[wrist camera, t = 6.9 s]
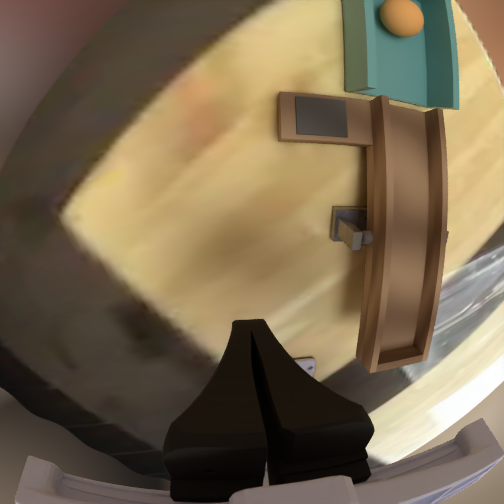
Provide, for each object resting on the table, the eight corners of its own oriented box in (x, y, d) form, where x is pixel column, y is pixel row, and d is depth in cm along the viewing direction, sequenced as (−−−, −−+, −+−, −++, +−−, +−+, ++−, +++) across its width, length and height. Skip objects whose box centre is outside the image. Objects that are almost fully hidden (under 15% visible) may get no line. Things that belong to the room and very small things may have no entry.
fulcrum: (420, 236, 23) (445, 254, 19) (330, 238, 22) (348, 259, 19) (425, 209, 22) (451, 223, 18) (333, 206, 21) (353, 223, 18)
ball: (438, 22, 12) (420, -3, 12) (399, 7, 12) (382, -16, 12) (418, 50, 15) (403, 24, 16) (381, 39, 15) (367, 13, 15)
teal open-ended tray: (430, 108, 18) (459, 109, 15) (344, 91, 18) (367, 86, 14) (423, 0, 14) (448, -11, 11) (339, -27, 13) (358, -46, 10)
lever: (415, 344, 21) (431, 358, 19) (278, 365, 20) (285, 385, 18) (427, 117, 18) (448, 111, 16) (277, 96, 17) (285, 82, 14)
